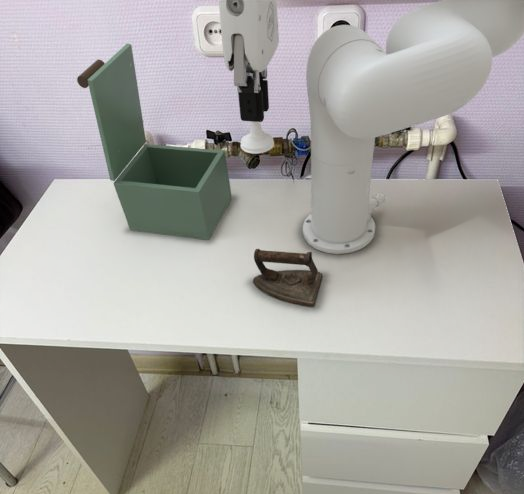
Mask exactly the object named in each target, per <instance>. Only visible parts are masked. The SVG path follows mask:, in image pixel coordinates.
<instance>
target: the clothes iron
mask: <svg viewBox="0 0 524 494" xmlns="http://www.w3.org/2000/svg"><path fill="white" fill-rule="evenodd" d="M253 260H254V263H255V265H256V267H257V269H258V271H259V272H260V274H258V275H256V276H254V277H253V279H252V283H253V285H254V286H255V287H256V288H257V289H258V290H259V291H261V292H262V293H264V294H266V295H267V296H270V297H272V298H274V299H276V300H279V301H282V302H286V303H289V304H293V305H298V306H301V307H309V308H314V307H315V306H316V303H317V299H318V295H319V292H320V289H321V284H322V281H323V272H321V271H318V267H317V266H316V264H315V261H314V260H313V254H312V251H308V252H306V253H304V252H290V251H289V252H286V251H277V250H265V249H264V250H261V249H260V248H255V250H254V252H253ZM264 263H272V264H284V265H285V264H286V265H297V266H298V265H299V266H306V267H308V270H307V269H285V270H274V269H271V268H267V266H266V265H265V264H264Z"/></svg>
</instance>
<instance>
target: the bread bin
mask: <svg viewBox="0 0 524 494" xmlns="http://www.w3.org/2000/svg"><path fill="white" fill-rule="evenodd" d="M113 186H114V190H115V192H116V194H117V195H116V196H117V197H118V200H119V203H120V206H121V209H122V212H123V214H124V217H125V220H126V223H127V225H128V228H129V230H130V231H133V232H142V233H149V234H158V235H166V236H172V237H173V236H174V237H181V238H189V239H197V240H203V241H210V240H211V237H212V236H213V234H214V232H215V230H216V228H217V227H218V225H219V223H220V221H221V219H222V218H223V215H224V214H225V212H226V210H227V209H228V206H229V204H230V203H231V201H232V199H233V196H232V189H231V183H230V176H229V169H228V163H227V157H226V150H223V149H214V148H213V149H211V148H201V147H200V148H199V147H188V146H187V147H186V146H174V145H161V144H149V143H145V144H144V145H143V146H142V148H141V149H140V150H139V151H138V153H137V154H136V155H135V156H134V157H133V159H132V160H131V161H130V162H129V164H128V165H127V166H126V167H125V169H124V170H123V171H122V172H121V174H120V175H119V176H118V177H117V179H116V180H115V181H113Z"/></svg>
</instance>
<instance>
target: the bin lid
mask: <svg viewBox="0 0 524 494" xmlns="http://www.w3.org/2000/svg"><path fill="white" fill-rule="evenodd" d="M76 82H77V84H78V85H79V87H81V88H82V89H87V88H88V89H89V94H90V99H91V102H92V107H93V110H94V115H95V119H96V123H97V128H98V132H99V137H100V141H101V146H102V150H103V155H104V159H105V163H106V167H107V172H108V176H109V180H110V181H112V182H115V181H116V179H117V178H118V177H119V176H120V175H121V173H122V172H123V171H124V170H125V168H126V167H127V166H128V165H129V163H130V162H131V161H132V160H133V158H134V157H135V156H136V155H137V153H138V152H139V151H140V150H141V148H142V147H143V146H144V145H145V144H147V140H146V133H145V126H144V119H143V113H142V106H141V100H140V99H141V98H140V93H139V86H138V80H137V72H136V66H135V60H134V54H133V46H132V44H131V43H126V44H125V45H124V46H122V48H120V49H119V50H118V51H117V52H116V53H115V54H114V55H113V56H112V57H111V58H109V60H107V61H106V62H104V61H103V60H102V59H96V60H95V61H94V62H93V63H92V64H91V65H89V66H88V67H87V68H86V69H85V70H84V71H83V72H81V74H79V75H78V76H77V78H76Z"/></svg>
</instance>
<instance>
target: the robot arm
mask: <svg viewBox="0 0 524 494" xmlns="http://www.w3.org/2000/svg"><path fill="white" fill-rule="evenodd" d="M277 4H278V3H277V0H218V5H219V6H218V7H219V20H220V23H219V24H220V34H221V45H222V52H223V58H224V59H223V60H224V64H225V67H226V69H227V70H228V71H229V72H233V86H235V87H236V89H237V97H238V106H239V107H238V108H239V116H240V120H241V121H242V122H251V121H253V122H260V123H262V122H264V120H265V112H268V111H269V109H270V99H269V82H268V66H269V64H270V62H271V61H272V59H273V57H274V55H275V53H276V51H277V49H278V46H279V42H280V35H279V34H280V33H279V32H280V31H279V18H278V5H277ZM523 35H524V0H438V1H436V2H432V3H429V4H426V5H423V6H420V7H417V8H415V9H412V10H410V11H408V12H406V13H405V14H403V15H401V17H400V18H399V19H397V20H396V21H395V23H394V24H393V25H392V26H391V28H390V30H389V32H388V35H387V38H386V42H385V51H384V49H383V48H382V47H381V46H380V45H379V43H377V42H376V41H375V40H374V38H372V36H371V35H370V34H368V32H366V31H364V30H363V29H362V28H359V27H358V26H354V25H352V24H351V25H350V24H339V25H335V26H332V27H329V28H328V29H327V30H325V31H324V32H323V33H321V34H320V36H318V38H317V39H316V40H315V41H314V43H313V45H312V47H311V49H310V51H309V54H308V58H307V61H306V62H307V63H306V69H305V70H306V73H305V74H306V75H305V78H306V79H305V80H306V81H305V82H306V91H307V99H308V101H307V102H308V109H309V121H310V123H309V124H310V186H311V187H310V191H311V192H310V194H311V197H310V199H311V200H310V203H311V207H310V208H311V212H310V213H309V215H307V216H306V218H305V219H304V221H303V224H302V234H303V238H304V240H305V241H306V242H307V244H308V245H310V246H311V247H312V248H313V249H316V250H318V251H320V252H324V253H326V254H327V253H328V254H333V255H342V254H343V255H344V254H350V253H354V252H357V251H361V249H363V248H365V247H366V246H367V245H369V244H370V243H371V242H372V240H373V239H374V236H375V234H376V233H375V232H376V223H375V219H373V217H372V216H371V214H372V213H373V212H374V210H375V208H378V207H380V206H381V205H383V204H384V203H385V202H386V197H385V195H384V193H382V192H378V193H376V194H374V195H373V196H372V197H370V193H371V185H372V184H371V183H372V174H373V173H372V172H373V162H374V151H375V144H376V138H377V137H378V138H379V137H382V136H386V135H389V134H392V133H395V132H399V131H402V130H405V129H408V128H411V127H415V126H418V125H421V124H424V123H427V122H431V121H433V120H436V119H440V118H442V117H445V116H449V115H450V114H453V113H454V112H457V111H458V110H460V109H461V108H463V107H464V106H466V105H467V104H468V103H470V101H472V100H473V99H474V98H475V97H476V96H477V95H478V94H479V93H480V92H481V90H482V89H483V88H484V86H485V84H486V83H487V81H488V79H489V76H490V73H491V71H492V66H493V58H494V57H497V56H500V55H502V54H503V53H505V52H506V51H508V50H509V49H511V48H512V47H513V46H515V45H516V44H517V43H518V42H519V40H520V39H522V37H523ZM250 73H253V78H252V76H248V75H250Z"/></svg>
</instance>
